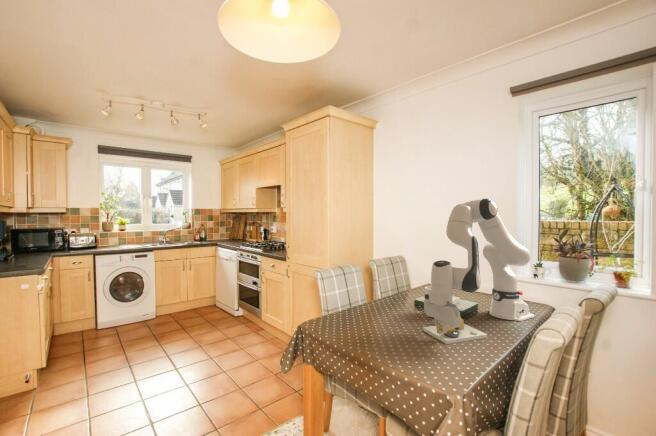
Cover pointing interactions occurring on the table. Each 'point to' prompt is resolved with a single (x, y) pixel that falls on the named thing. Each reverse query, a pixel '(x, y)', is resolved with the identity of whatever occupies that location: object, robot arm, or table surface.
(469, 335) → the level plate
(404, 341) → the table surface
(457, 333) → the knob
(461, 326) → the knob
